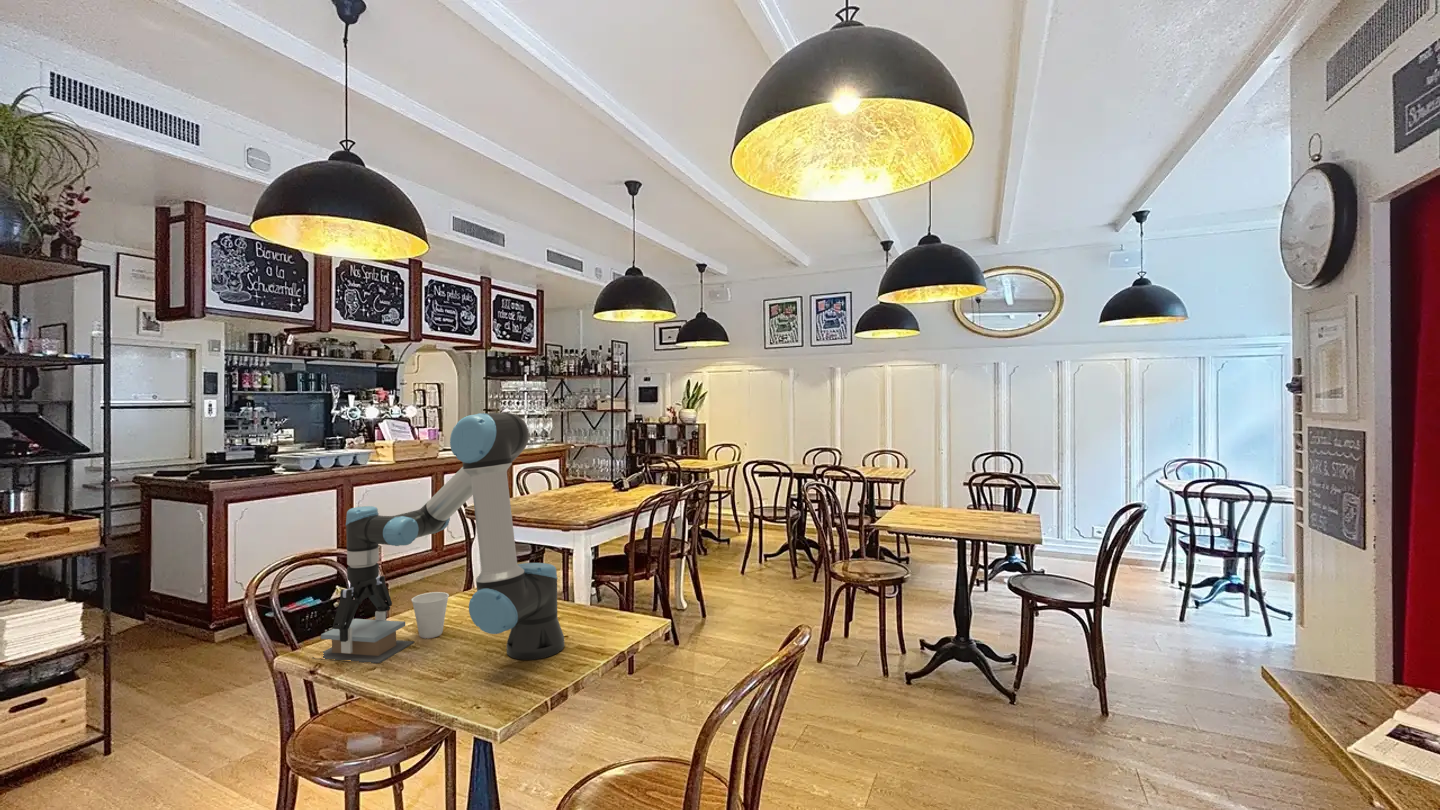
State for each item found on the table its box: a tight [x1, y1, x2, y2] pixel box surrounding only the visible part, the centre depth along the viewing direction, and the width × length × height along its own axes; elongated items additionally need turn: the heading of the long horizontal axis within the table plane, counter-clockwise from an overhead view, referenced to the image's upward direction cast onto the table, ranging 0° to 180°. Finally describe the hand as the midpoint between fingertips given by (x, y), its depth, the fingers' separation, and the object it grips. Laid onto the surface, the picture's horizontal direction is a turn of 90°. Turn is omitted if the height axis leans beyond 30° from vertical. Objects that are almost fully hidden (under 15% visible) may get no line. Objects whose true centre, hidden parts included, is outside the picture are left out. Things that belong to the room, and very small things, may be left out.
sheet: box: [320, 618, 406, 642], centre depth 172 cm, size 16×12×1 cm
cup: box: [410, 591, 450, 639], centre depth 183 cm, size 10×10×11 cm
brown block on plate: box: [322, 631, 415, 664], centre depth 172 cm, size 20×14×5 cm
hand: (364, 643), depth 172 cm, fingers closed on sheet, 12 cm apart
